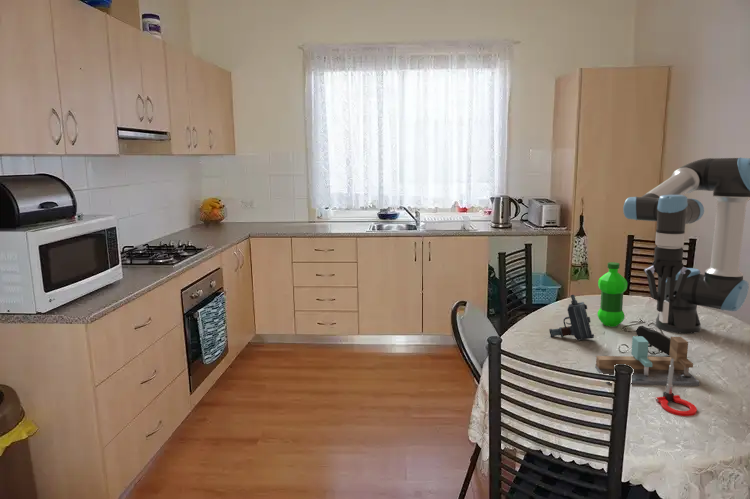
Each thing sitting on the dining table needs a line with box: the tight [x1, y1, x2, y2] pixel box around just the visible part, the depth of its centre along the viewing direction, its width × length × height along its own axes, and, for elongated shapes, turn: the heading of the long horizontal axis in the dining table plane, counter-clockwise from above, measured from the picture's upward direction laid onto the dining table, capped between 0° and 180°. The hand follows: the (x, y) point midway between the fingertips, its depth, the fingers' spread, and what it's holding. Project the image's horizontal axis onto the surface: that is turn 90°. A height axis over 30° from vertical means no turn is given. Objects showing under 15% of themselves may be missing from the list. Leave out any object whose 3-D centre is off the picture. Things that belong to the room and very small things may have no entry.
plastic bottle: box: [596, 261, 628, 328], centre depth 207 cm, size 10×10×25 cm
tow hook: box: [655, 358, 698, 417], centre depth 141 cm, size 8×13×9 cm
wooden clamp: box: [595, 336, 694, 376], centre depth 163 cm, size 26×10×9 cm, turn 83°
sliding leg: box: [631, 335, 653, 376], centre depth 163 cm, size 3×10×9 cm, turn 173°
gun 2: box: [635, 325, 671, 357], centre depth 178 cm, size 3×16×10 cm, turn 58°
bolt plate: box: [595, 364, 700, 387], centre depth 162 cm, size 26×12×1 cm, turn 83°
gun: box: [548, 294, 595, 341], centre depth 195 cm, size 3×17×15 cm
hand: (663, 321), depth 162 cm, fingers closed
